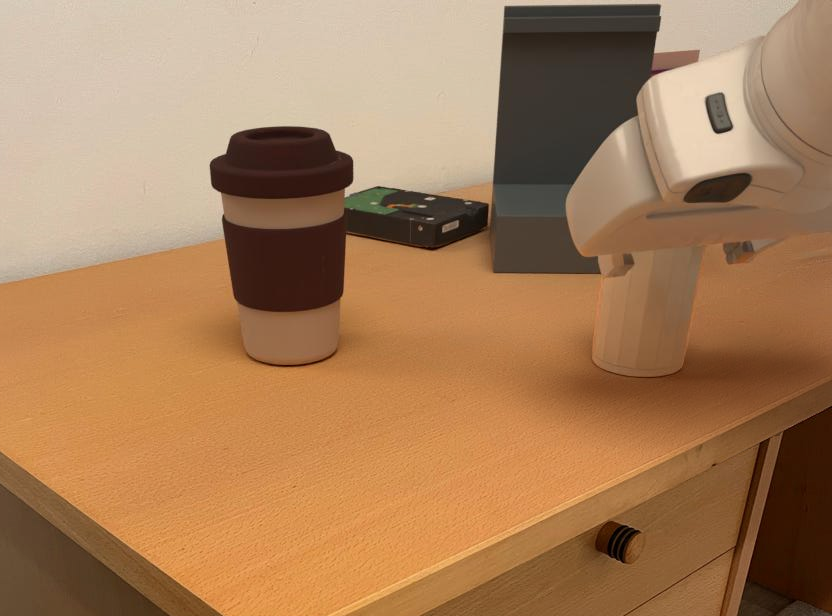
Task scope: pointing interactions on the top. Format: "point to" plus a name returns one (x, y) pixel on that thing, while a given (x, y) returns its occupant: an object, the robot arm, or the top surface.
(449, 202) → the disk drive
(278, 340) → the coffee cup
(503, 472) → the top surface
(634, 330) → the cup
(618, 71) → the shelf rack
